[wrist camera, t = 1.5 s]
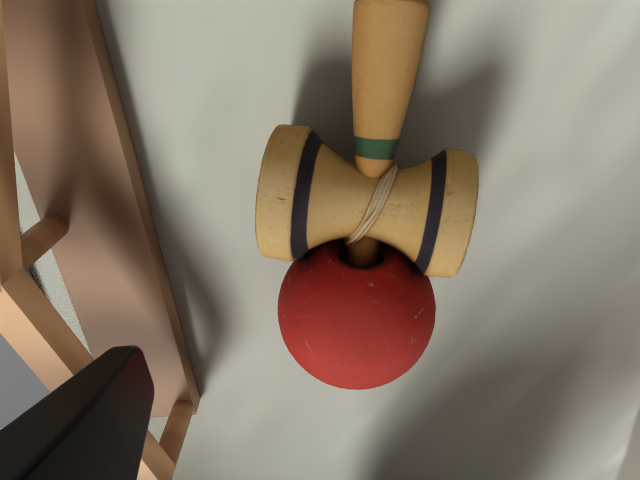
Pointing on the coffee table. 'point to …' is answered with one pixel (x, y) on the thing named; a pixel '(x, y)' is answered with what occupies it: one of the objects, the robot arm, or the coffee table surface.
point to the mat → (17, 383)
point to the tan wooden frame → (82, 216)
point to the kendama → (365, 217)
